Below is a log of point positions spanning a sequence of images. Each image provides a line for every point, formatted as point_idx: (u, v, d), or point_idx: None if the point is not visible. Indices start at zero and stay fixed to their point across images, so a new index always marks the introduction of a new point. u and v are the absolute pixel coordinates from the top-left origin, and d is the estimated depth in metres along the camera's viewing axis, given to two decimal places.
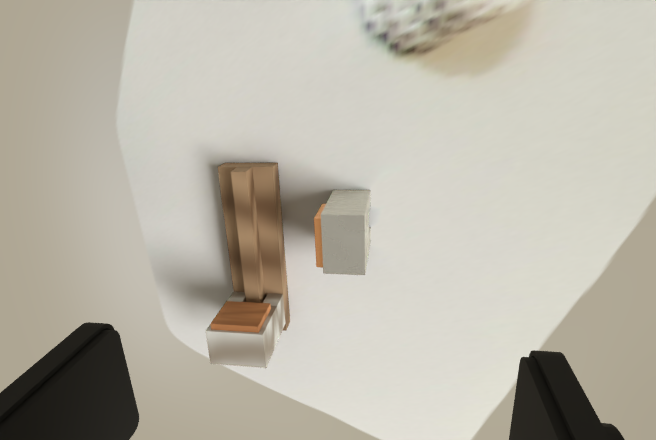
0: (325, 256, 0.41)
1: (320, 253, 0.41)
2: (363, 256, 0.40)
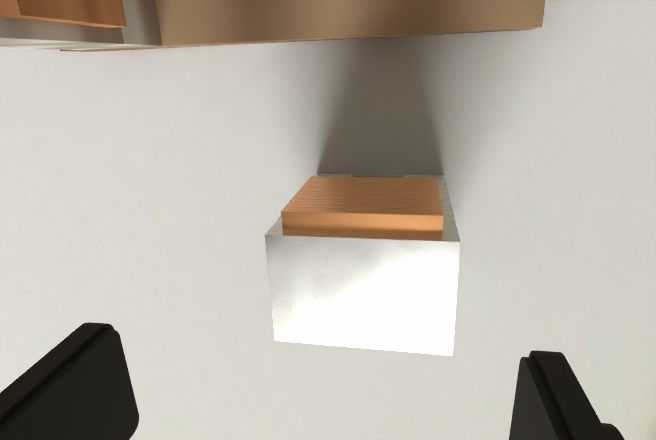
0: (320, 245, 0.14)
1: (326, 226, 0.14)
2: (329, 342, 0.15)
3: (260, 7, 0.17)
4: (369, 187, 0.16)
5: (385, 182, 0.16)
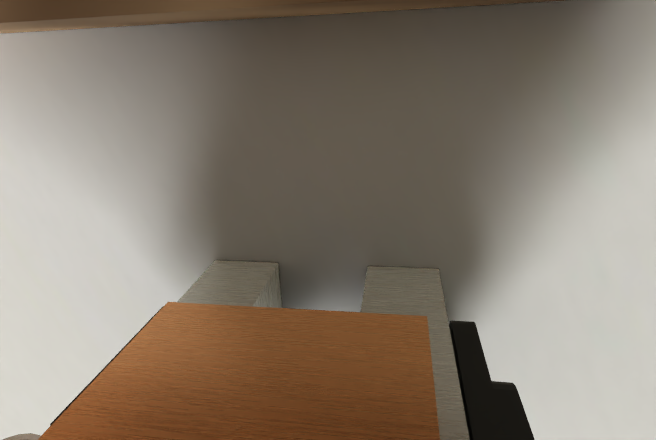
0: None
1: None
2: None
3: None
4: (271, 360, 0.07)
5: (313, 335, 0.07)
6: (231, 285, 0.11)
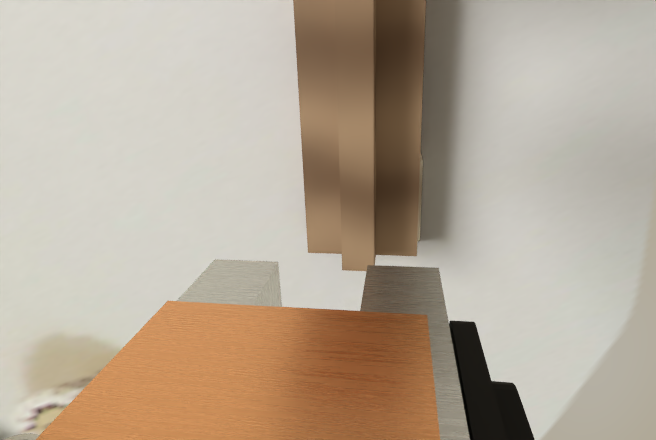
0: None
1: None
2: None
3: (321, 51, 0.21)
4: (270, 359, 0.07)
5: (313, 333, 0.07)
6: (230, 284, 0.11)
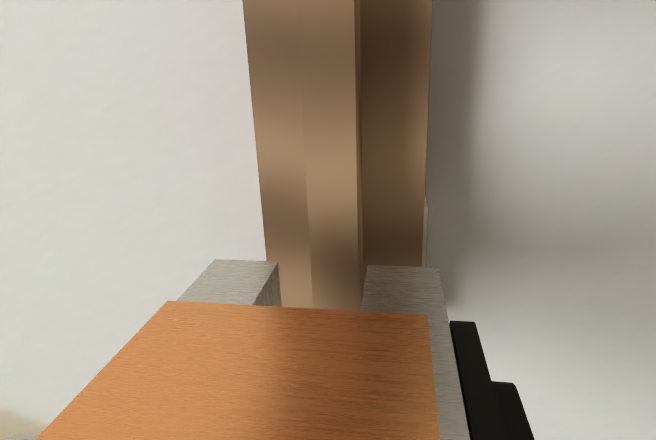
0: None
1: None
2: None
3: (283, 56, 0.14)
4: (270, 359, 0.07)
5: (313, 333, 0.07)
6: (230, 284, 0.11)
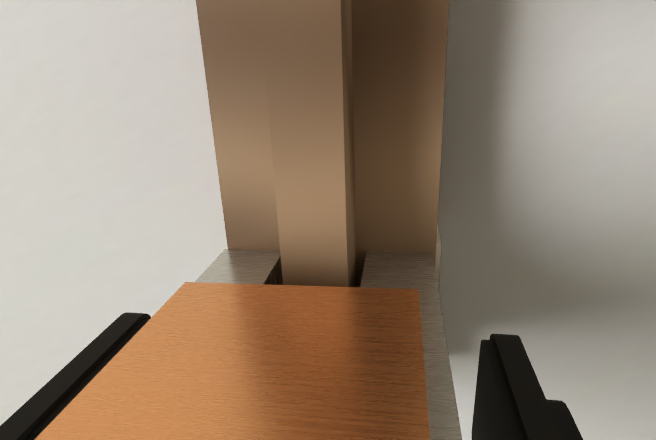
0: None
1: None
2: None
3: (248, 44, 0.11)
4: (279, 326, 0.08)
5: (317, 306, 0.08)
6: (240, 270, 0.11)
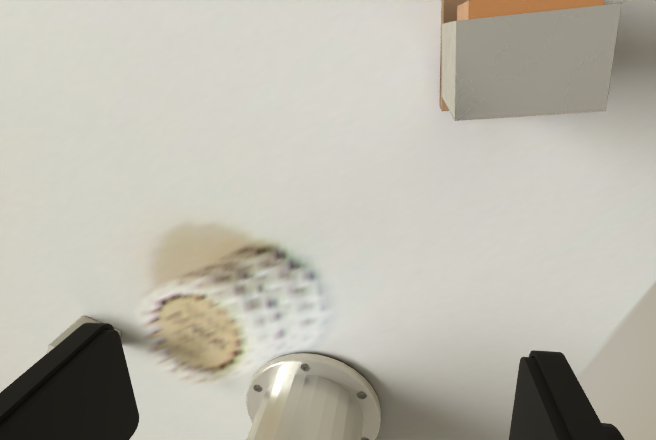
0: (503, 23, 0.17)
1: (506, 8, 0.17)
2: (501, 114, 0.19)
3: None
4: None
5: None
6: None
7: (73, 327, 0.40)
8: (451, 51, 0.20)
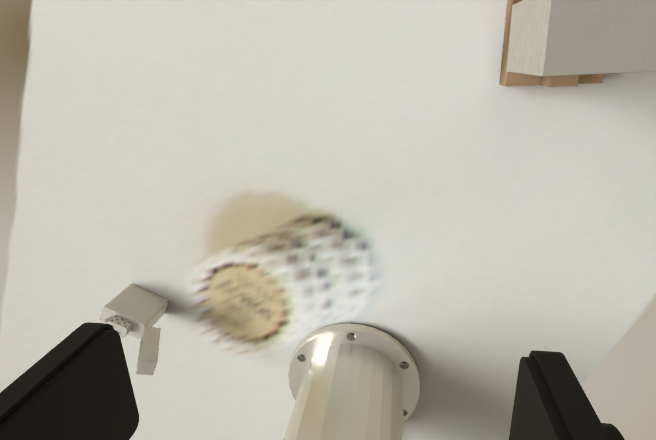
0: None
1: None
2: (585, 71, 0.21)
3: None
4: None
5: None
6: None
7: (124, 293, 0.41)
8: (538, 18, 0.22)
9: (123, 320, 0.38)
